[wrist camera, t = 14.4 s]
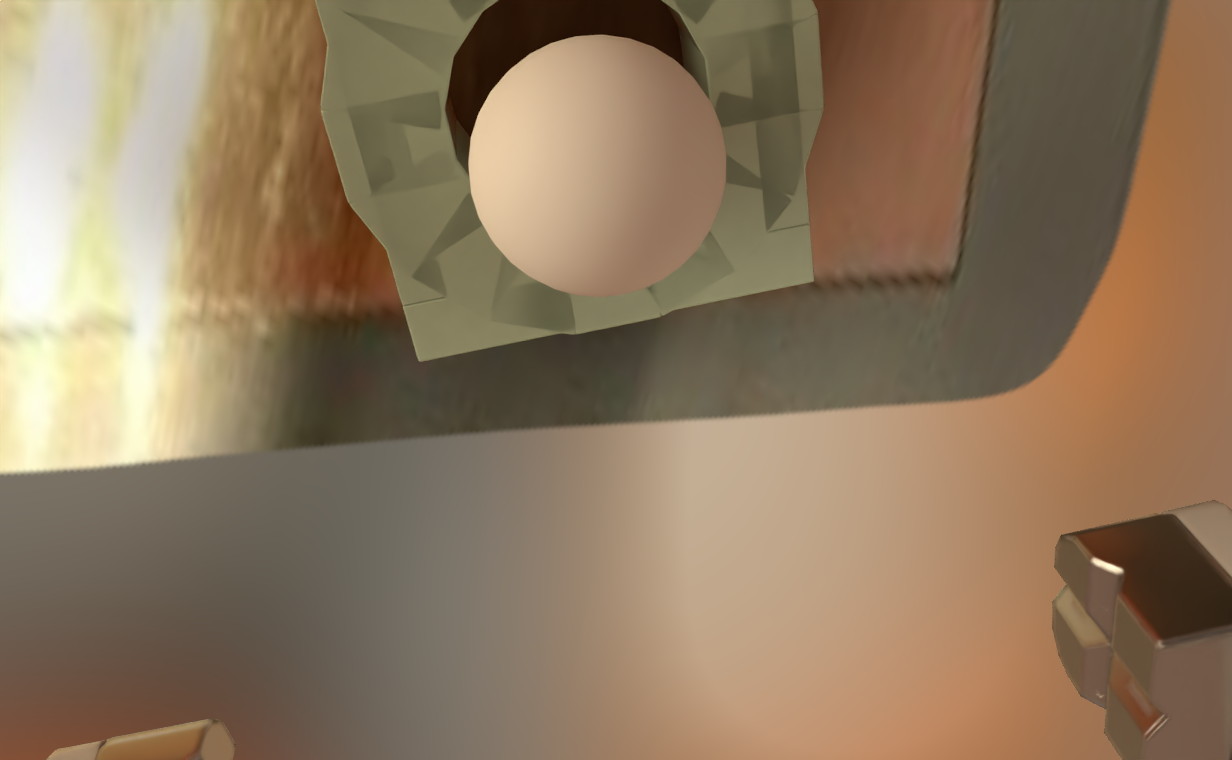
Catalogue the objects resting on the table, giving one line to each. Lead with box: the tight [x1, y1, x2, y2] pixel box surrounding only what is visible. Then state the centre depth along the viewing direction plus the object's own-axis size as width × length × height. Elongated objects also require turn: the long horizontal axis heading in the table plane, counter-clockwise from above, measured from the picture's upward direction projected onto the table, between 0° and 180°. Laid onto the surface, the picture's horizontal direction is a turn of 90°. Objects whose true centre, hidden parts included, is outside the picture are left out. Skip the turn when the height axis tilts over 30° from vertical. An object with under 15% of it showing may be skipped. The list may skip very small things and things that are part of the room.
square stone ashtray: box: [315, 0, 824, 362], centre depth 32 cm, size 13×13×4 cm
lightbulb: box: [468, 35, 726, 297], centre depth 29 cm, size 6×6×11 cm
